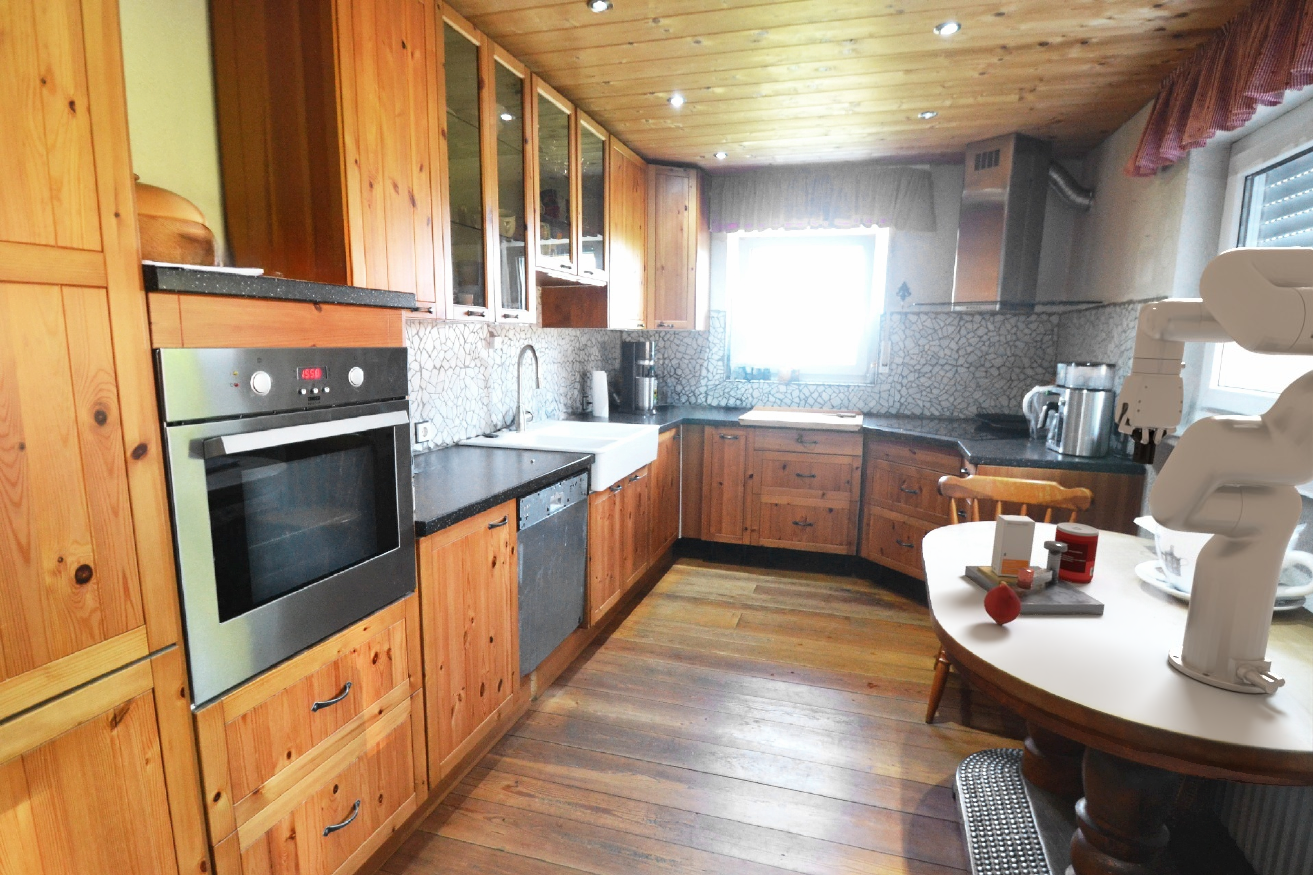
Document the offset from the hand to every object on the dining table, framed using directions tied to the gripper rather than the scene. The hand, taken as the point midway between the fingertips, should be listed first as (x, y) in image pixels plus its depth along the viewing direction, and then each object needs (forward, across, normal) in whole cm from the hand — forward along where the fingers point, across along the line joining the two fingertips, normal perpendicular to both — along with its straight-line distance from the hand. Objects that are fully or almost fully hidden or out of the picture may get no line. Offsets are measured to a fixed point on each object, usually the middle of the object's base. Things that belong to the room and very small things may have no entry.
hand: (1142, 462), depth 127 cm
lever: (+24, +20, +1) cm, 31 cm away
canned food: (+27, +4, -10) cm, 29 cm away
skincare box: (+25, +21, -5) cm, 33 cm away
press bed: (+27, +19, -1) cm, 33 cm away
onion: (+27, +33, +13) cm, 45 cm away
